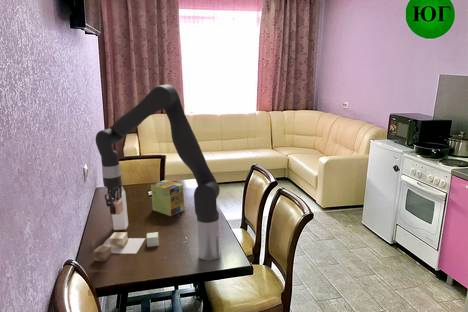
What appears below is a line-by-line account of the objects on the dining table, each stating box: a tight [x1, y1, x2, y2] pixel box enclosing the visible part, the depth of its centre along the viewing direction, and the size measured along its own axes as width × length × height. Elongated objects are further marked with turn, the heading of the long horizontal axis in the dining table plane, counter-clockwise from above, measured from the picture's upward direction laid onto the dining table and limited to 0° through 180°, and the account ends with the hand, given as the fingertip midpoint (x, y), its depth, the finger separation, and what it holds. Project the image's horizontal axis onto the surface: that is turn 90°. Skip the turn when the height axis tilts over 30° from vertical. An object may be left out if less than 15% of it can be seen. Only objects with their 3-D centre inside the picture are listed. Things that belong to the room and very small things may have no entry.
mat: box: [101, 237, 146, 254], centre depth 167 cm, size 18×14×1 cm
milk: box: [111, 186, 129, 231], centre depth 183 cm, size 6×6×22 cm
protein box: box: [150, 179, 185, 217], centre depth 205 cm, size 10×15×16 cm
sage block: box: [146, 231, 160, 248], centre depth 167 cm, size 5×5×5 cm
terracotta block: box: [106, 200, 123, 216], centre depth 162 cm, size 5×5×5 cm
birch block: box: [108, 231, 128, 249], centre depth 166 cm, size 6×6×5 cm
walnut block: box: [92, 245, 113, 263], centre depth 156 cm, size 5×5×5 cm
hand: (115, 211), depth 162 cm, fingers closed on terracotta block, 5 cm apart
